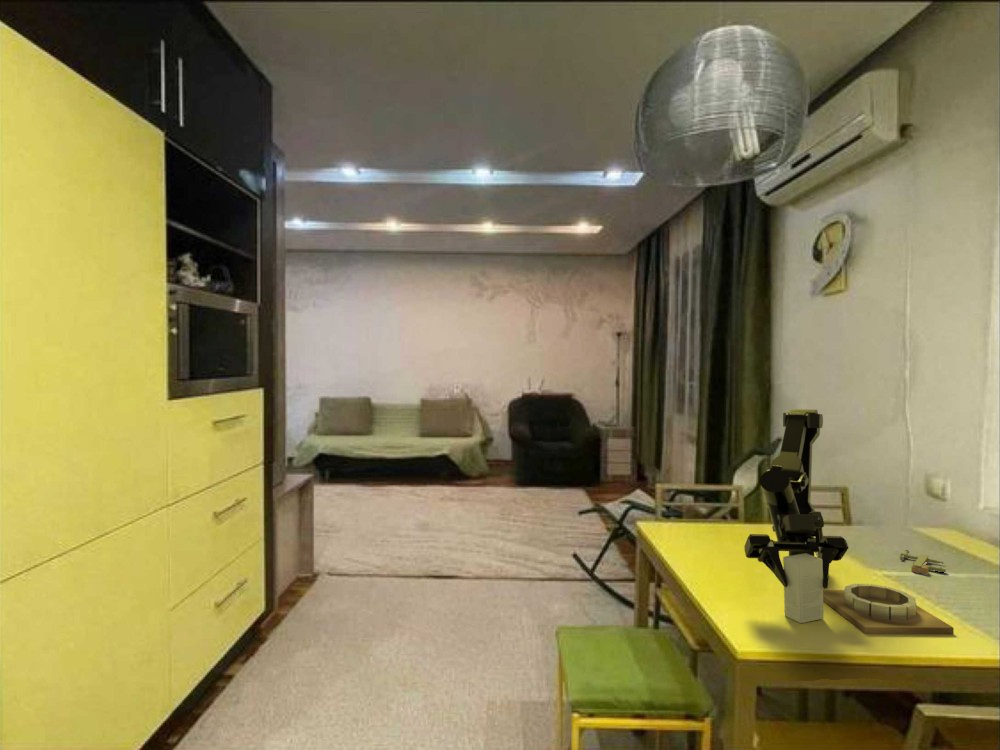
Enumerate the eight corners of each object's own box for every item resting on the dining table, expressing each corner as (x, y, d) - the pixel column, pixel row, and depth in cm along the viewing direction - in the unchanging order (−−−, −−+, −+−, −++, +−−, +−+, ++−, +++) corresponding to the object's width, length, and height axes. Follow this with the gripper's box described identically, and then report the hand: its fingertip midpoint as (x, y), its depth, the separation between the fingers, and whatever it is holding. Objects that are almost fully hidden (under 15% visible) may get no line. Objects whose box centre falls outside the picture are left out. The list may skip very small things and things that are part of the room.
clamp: (942, 570, 134) (891, 561, 141) (942, 580, 134) (891, 570, 141) (951, 555, 145) (904, 547, 152) (951, 564, 145) (904, 555, 152)
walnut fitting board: (816, 595, 125) (815, 590, 125) (891, 595, 125) (891, 590, 124) (865, 633, 107) (865, 627, 107) (953, 633, 107) (953, 627, 106)
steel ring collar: (832, 595, 122) (832, 583, 122) (890, 595, 122) (890, 583, 122) (866, 620, 110) (866, 607, 110) (930, 620, 110) (930, 607, 110)
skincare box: (806, 610, 117) (806, 552, 117) (824, 619, 113) (823, 559, 113) (783, 615, 115) (782, 556, 115) (800, 624, 111) (799, 562, 111)
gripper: (747, 495, 119) (765, 566, 109) (844, 497, 117) (871, 570, 106) (737, 523, 127) (753, 592, 116) (827, 525, 125) (851, 595, 114)
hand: (806, 587), depth 113 cm, fingers closed on skincare box, 7 cm apart
